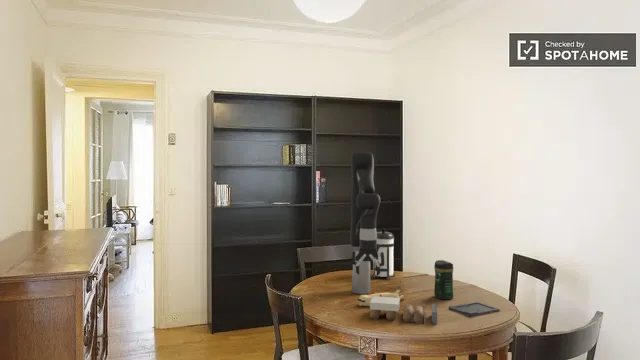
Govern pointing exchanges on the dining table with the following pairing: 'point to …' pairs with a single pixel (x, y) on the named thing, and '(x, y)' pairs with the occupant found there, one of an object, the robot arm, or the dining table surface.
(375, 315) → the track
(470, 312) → the picture frame
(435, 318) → the block
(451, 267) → the coffee jar
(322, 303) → the dining table surface
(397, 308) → the slab
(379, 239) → the coffee press
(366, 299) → the cat figure
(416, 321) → the roller
